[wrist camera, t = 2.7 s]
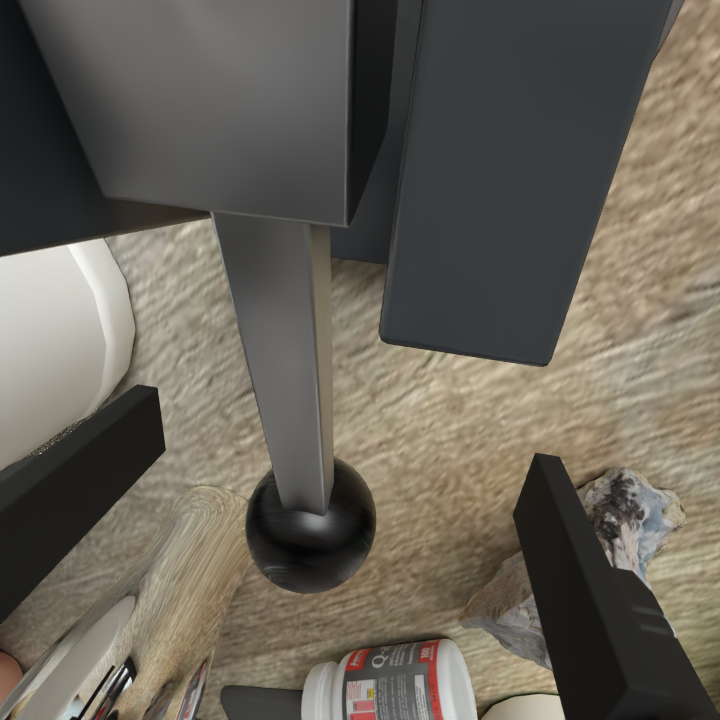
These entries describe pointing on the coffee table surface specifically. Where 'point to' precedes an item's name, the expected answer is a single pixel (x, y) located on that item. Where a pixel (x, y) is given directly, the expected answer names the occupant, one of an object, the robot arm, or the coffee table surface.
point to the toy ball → (8, 674)
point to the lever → (249, 204)
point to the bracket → (414, 164)
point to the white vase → (527, 708)
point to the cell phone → (261, 703)
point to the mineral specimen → (618, 538)
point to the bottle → (59, 341)
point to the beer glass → (147, 624)
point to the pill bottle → (392, 685)
